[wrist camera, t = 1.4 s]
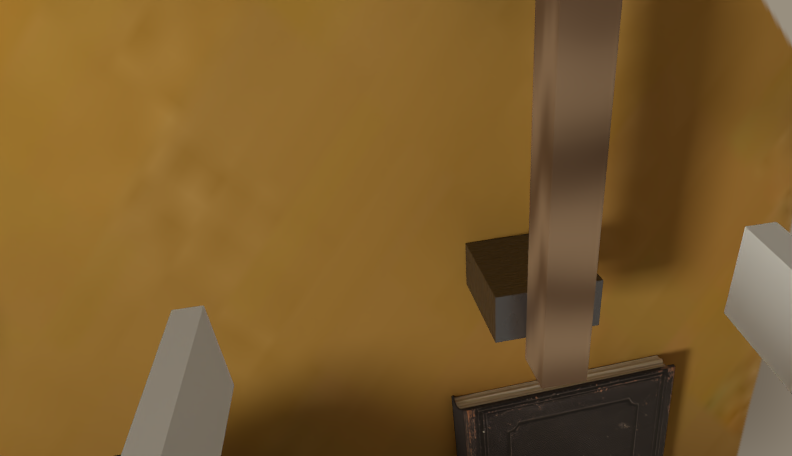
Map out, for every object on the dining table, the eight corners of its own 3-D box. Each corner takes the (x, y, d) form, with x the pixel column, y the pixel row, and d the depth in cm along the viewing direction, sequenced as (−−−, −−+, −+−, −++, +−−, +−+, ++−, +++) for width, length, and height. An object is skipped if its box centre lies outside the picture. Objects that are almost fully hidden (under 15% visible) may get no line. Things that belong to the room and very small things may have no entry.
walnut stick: (567, 350, 34) (586, 380, 32) (525, 358, 34) (541, 388, 32) (602, -142, 23) (635, -148, 21) (539, -136, 22) (566, -142, 20)
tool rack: (556, 269, 39) (598, 324, 34) (466, 284, 38) (495, 342, 33) (576, -97, 29) (641, -101, 24) (455, -86, 28) (494, -87, 23)
